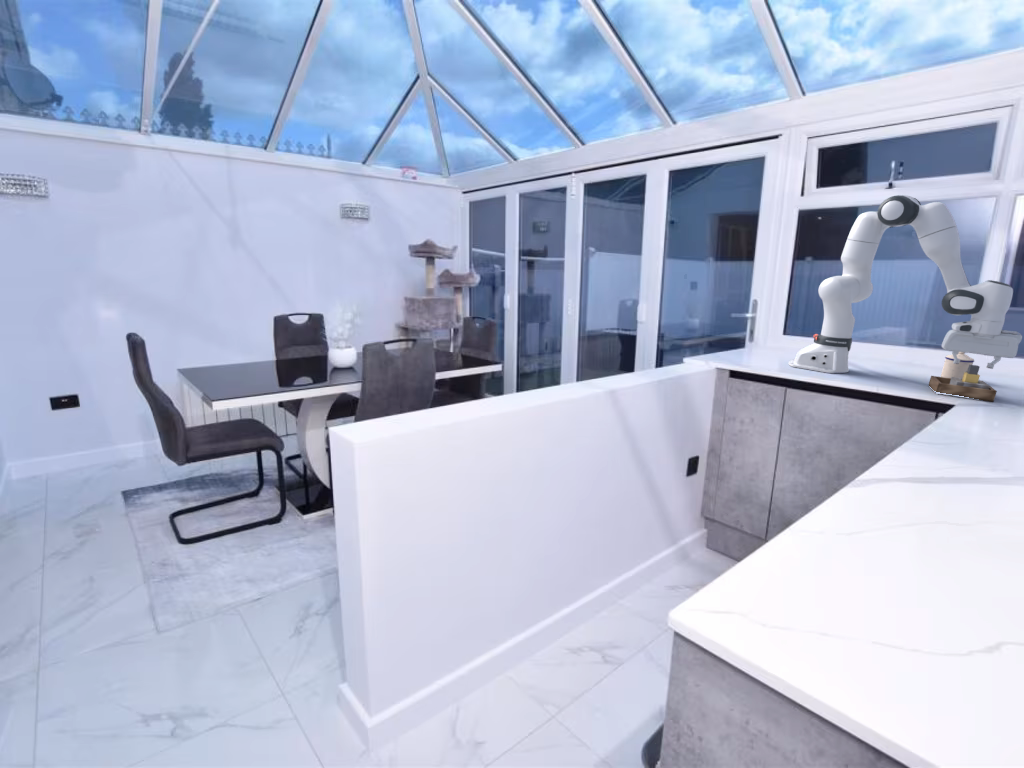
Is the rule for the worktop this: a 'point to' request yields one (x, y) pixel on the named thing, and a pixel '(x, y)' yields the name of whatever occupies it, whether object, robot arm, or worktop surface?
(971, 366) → the connector
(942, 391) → the walled box
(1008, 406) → the worktop surface
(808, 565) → the worktop surface
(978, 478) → the worktop surface
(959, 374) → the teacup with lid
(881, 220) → the robot arm
